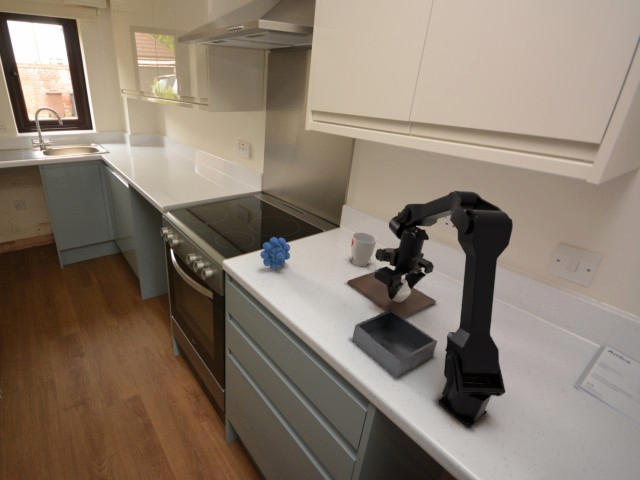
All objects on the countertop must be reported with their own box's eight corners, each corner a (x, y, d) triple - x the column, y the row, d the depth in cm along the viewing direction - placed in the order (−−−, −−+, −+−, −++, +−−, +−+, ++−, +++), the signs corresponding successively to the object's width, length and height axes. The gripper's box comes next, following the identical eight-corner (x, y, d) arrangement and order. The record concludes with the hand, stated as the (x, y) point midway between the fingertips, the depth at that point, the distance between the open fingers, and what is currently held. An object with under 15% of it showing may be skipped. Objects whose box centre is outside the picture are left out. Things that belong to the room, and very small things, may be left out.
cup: (353, 254, 127) (358, 230, 123) (374, 262, 122) (380, 237, 118) (344, 262, 121) (348, 237, 117) (365, 271, 116) (371, 245, 112)
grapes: (266, 279, 108) (268, 245, 104) (255, 269, 114) (257, 236, 109) (295, 271, 114) (299, 238, 109) (284, 261, 119) (287, 230, 114)
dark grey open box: (432, 356, 81) (437, 341, 79) (396, 378, 74) (400, 361, 72) (387, 323, 91) (391, 309, 89) (351, 340, 85) (355, 324, 83)
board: (435, 304, 100) (436, 300, 100) (399, 320, 93) (400, 316, 92) (381, 272, 116) (381, 269, 116) (347, 283, 108) (347, 280, 108)
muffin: (381, 294, 101) (386, 274, 99) (397, 291, 103) (402, 271, 101) (396, 307, 96) (401, 286, 93) (412, 303, 98) (418, 282, 95)
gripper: (406, 231, 104) (396, 274, 110) (364, 242, 95) (354, 289, 101) (440, 246, 95) (427, 292, 101) (397, 260, 86) (385, 310, 92)
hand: (398, 295), depth 99 cm, fingers closed on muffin, 6 cm apart
